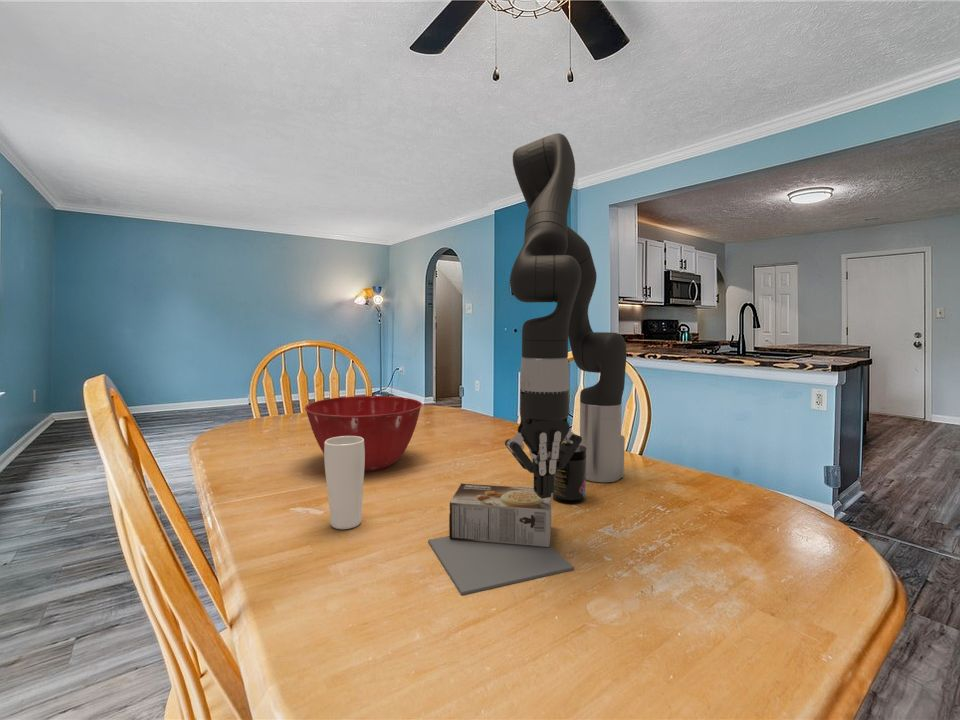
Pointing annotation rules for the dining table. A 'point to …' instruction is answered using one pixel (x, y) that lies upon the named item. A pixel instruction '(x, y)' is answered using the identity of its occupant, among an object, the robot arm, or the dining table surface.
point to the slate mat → (494, 563)
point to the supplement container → (571, 479)
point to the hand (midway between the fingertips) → (543, 496)
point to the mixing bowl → (367, 424)
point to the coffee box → (500, 515)
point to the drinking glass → (345, 479)
